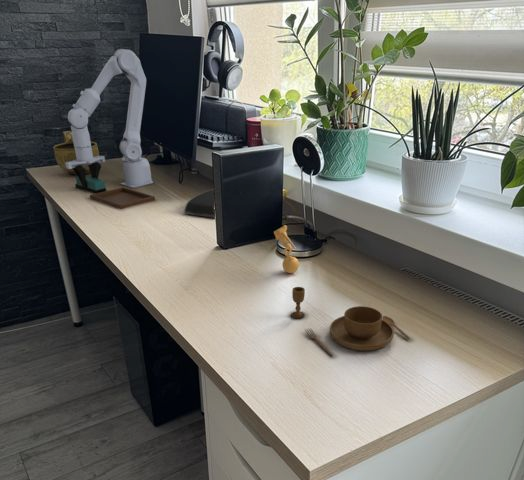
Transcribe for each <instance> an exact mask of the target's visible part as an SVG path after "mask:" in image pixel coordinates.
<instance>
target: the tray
mask: <svg viewBox="0 0 524 480" xmlns="http://www.w3.org/2000/svg"><path fill="white" fill-rule="evenodd" d="M89 199H91V200H94V201H96V202H99V203H102V204H105V205H107V206H111V207H114V208H116V209H119V210H124V209H127V208H132V207H135V206H138V205H143V204H146V203H149V202H153V201H156V197H155V196H154V195H152V194H148V193H145V192H141V191H139V190H134V189H131V188H129V187H126V186H125V187H124V186H122V187H117V188H113V189H109V190H106V191H104V192H100V193H91V194H89Z"/></svg>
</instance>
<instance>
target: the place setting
mask: <svg viewBox="0 0 524 480" xmlns="http://www.w3.org/2000/svg"><path fill="white" fill-rule="evenodd" d="M305 291H306V289H305V288H304V287H302V286H295V287H292V291H291V293H292V295H291V296H292V300H293V302H294V303H295V305H296V306H295V311H293V312H291V313H290V316H291V318H293V319H298V320H300V319H303V318H305V316H306V314H305V313H304V312H303V311H301V310H302V308H301V303H303V302H304V300H305V294H306V292H305ZM394 328H395V330H397V331H398V332H399V333H400V334H401V335H402V336H403V337H404V338H406V339H407V340H411V337H409V336H408V334H406V332H405V331H403V330H402V329H401V328H399V327H398V326H397V325H396V324H395V321H394V320H393V318H391V317H390V316H387V315H383V314H382V313H381V312H380V311H379V310H377V308H373V307H370V306H363V305H358V306H357V305H356V306H352V307H350V308H348V309H346V310H345V312H344V315H342V316H339V317H337V318H336V319H334V320H333V321H332V322H331V323H330V326H329V333H330V336H331V338H332V339H333V340H334V342H336V343H337V344H339V345H340V346H342V347H345V348H347V349H350V350H354V351H362V352H364V351H365V352H367V351H369V352H370V351H375V350H380V349H382V348H385V347H386V346H388V345H389V344H390V343H391V342H392V341H393V339H394V335H395V330H394ZM304 331H305V332H306V335H308V337H309V339H311V340H315V342H317V343H318V344H319V346H321V347H322V349H323V350H324V351H325V352H326V353H327V354H328V355H330V356H331V357H334V355H333V353H332V352H331V351H330V350H329V349H328V348H327V346H325V344H323V343H322V342H321V341H320V340H319V339H318V338H317V335H316V334H315V333H314V331H313V329H312V328H311V327H310V328H306V329H304Z"/></svg>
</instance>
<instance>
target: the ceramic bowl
mask: <svg viewBox="0 0 524 480" xmlns="http://www.w3.org/2000/svg"><path fill="white" fill-rule="evenodd" d="M61 132H62V133H61V134H62V135H61V136H62V139H63V141H64V142H61V143H58V144H55V145H53V147H52V148H53V154H54V158H55V162H56V163H57V165H58V166H59V167H60V169H62V170H63V171H64V172H67V173H69V174H72V175H75V176H77V174H76V173H75V172H74V170H73V169H67V168H66V164H65V163H66V162H70V161H73V160H76V159H77V158H76V153H75V148H74V143H73V137H72V130H67V131H66V130H65V131H61ZM91 147H92V153H93V157H96V156H100V151H99V147H98V143H97V142H95V141H91ZM82 167H83V168H85V169H86V175H88V174H91V172H90V169H89V167H88V165H85V166H82Z"/></svg>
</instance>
